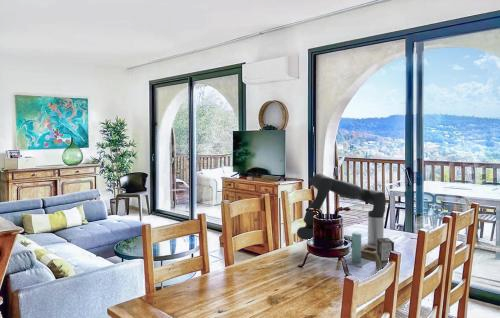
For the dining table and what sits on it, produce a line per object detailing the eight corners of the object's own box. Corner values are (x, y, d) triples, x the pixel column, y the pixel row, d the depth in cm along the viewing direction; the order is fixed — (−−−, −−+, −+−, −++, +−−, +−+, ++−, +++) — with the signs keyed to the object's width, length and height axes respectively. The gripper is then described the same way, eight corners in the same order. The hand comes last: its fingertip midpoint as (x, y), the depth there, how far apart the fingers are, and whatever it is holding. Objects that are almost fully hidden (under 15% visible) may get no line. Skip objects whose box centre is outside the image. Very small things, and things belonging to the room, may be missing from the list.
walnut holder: (364, 250, 234) (364, 243, 234) (390, 256, 223) (390, 249, 223) (350, 256, 223) (350, 249, 223) (376, 263, 212) (377, 255, 212)
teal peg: (354, 259, 216) (354, 232, 215) (362, 261, 213) (363, 233, 212) (350, 261, 212) (350, 233, 212) (358, 263, 209) (358, 235, 208)
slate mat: (352, 258, 220) (352, 257, 220) (371, 262, 213) (371, 261, 212) (342, 262, 212) (342, 261, 212) (361, 267, 205) (361, 266, 205)
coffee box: (394, 275, 194) (394, 242, 193) (380, 275, 194) (381, 242, 193) (387, 268, 203) (388, 237, 202) (375, 268, 203) (375, 237, 202)
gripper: (336, 241, 229) (361, 247, 217) (322, 246, 218) (348, 252, 207) (336, 228, 228) (362, 233, 217) (322, 233, 218) (348, 238, 207)
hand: (355, 243), depth 212 cm, fingers open, 8 cm apart
